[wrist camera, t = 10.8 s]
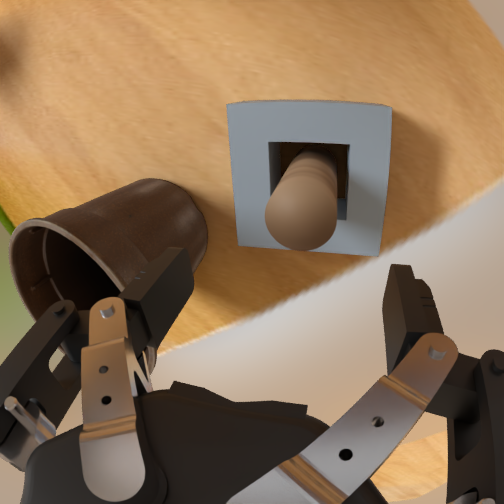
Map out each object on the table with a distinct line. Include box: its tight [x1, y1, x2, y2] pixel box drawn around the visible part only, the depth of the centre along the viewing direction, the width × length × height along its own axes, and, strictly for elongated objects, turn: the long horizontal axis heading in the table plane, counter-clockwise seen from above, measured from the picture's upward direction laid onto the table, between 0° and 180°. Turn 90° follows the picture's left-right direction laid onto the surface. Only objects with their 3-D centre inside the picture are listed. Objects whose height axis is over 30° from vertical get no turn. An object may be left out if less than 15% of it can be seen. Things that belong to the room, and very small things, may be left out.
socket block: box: [226, 100, 392, 256], centre depth 25 cm, size 12×12×5 cm
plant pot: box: [9, 178, 208, 375], centre depth 28 cm, size 16×16×16 cm
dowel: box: [265, 144, 337, 251], centre depth 22 cm, size 4×4×12 cm
